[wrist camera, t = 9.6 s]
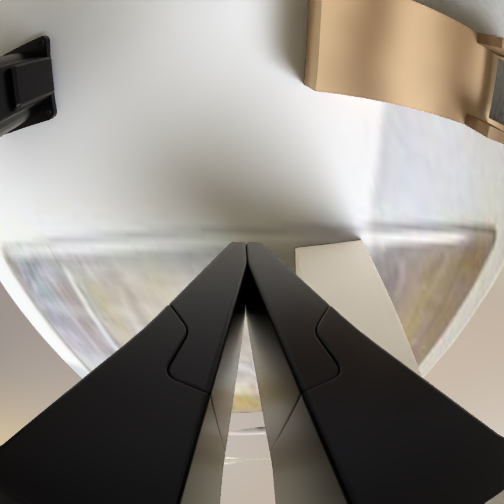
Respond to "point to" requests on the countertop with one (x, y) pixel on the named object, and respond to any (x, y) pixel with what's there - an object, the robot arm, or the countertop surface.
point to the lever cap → (498, 95)
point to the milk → (355, 293)
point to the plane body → (404, 59)
